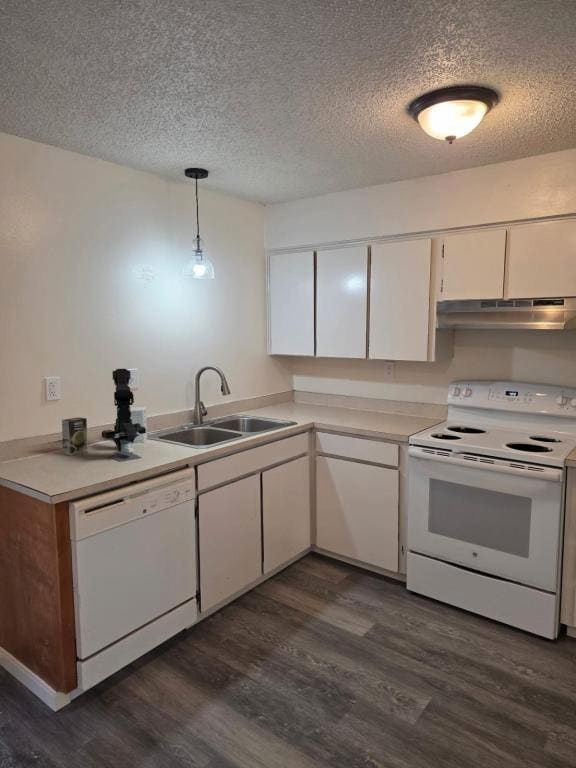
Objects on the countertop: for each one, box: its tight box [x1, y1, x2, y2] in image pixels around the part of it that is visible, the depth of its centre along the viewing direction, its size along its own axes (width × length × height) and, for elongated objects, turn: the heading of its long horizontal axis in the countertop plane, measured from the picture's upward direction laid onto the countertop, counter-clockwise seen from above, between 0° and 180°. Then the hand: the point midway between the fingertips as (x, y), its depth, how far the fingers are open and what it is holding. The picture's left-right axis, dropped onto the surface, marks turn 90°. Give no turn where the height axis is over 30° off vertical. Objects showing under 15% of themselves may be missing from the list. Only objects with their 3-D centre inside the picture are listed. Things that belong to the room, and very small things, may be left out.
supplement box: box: [130, 406, 148, 443], centre depth 260 cm, size 10×9×17 cm
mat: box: [108, 452, 142, 463], centre depth 228 cm, size 12×10×1 cm
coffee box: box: [61, 417, 89, 456], centre depth 234 cm, size 9×6×16 cm
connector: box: [116, 440, 135, 455], centre depth 227 cm, size 12×4×5 cm, turn 43°
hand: (124, 450), depth 228 cm, fingers closed on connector, 4 cm apart
